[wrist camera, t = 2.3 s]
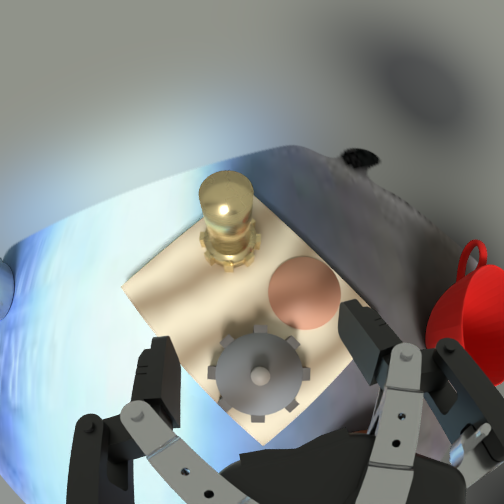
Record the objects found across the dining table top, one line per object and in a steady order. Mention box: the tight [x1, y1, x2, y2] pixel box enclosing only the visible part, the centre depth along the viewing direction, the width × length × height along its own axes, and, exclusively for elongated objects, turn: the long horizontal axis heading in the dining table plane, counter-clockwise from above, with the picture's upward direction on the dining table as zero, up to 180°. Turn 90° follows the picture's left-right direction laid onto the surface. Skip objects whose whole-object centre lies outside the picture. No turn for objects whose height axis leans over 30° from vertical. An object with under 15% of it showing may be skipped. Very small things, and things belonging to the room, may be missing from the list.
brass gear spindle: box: [199, 171, 261, 272], centre depth 24 cm, size 6×6×10 cm
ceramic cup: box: [425, 240, 504, 386], centre depth 23 cm, size 13×17×10 cm
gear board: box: [121, 195, 370, 446], centre depth 26 cm, size 22×18×5 cm
